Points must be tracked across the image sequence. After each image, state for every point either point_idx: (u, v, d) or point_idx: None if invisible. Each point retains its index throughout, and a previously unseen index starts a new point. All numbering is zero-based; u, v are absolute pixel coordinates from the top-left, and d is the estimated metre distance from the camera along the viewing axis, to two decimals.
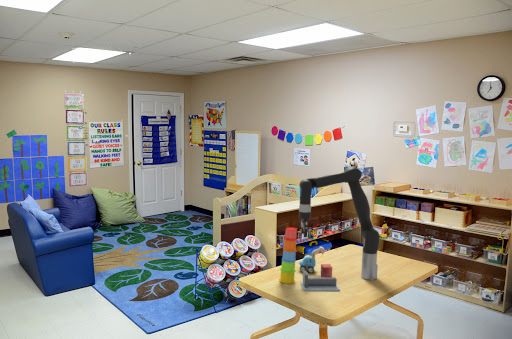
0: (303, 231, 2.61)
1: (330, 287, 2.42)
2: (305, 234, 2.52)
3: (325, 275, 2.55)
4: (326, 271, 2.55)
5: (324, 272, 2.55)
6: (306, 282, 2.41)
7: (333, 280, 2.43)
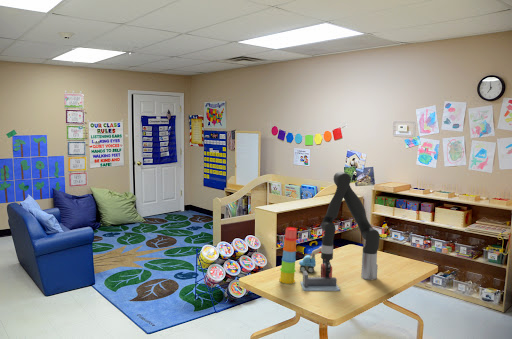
0: None
1: (330, 287, 2.42)
2: (327, 276, 2.54)
3: (325, 275, 2.55)
4: None
5: (324, 272, 2.55)
6: (306, 282, 2.41)
7: (333, 280, 2.43)
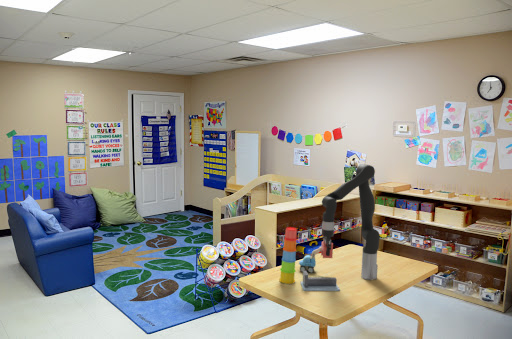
0: None
1: (330, 287, 2.42)
2: (328, 253, 2.49)
3: (325, 252, 2.50)
4: None
5: (324, 249, 2.50)
6: (306, 282, 2.41)
7: (333, 280, 2.43)
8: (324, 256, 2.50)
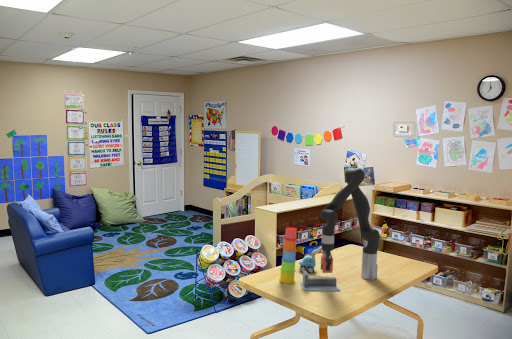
0: None
1: (330, 287, 2.42)
2: (328, 267, 2.40)
3: (325, 267, 2.41)
4: None
5: (324, 263, 2.41)
6: (306, 282, 2.41)
7: (333, 280, 2.43)
8: (324, 271, 2.41)
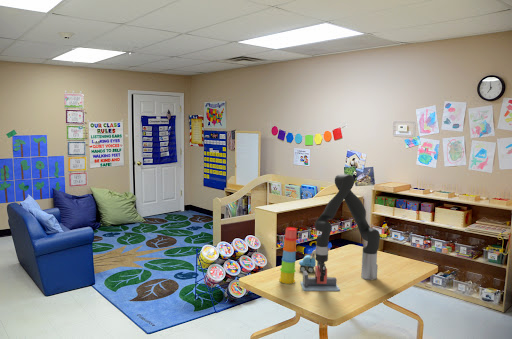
0: None
1: (330, 287, 2.42)
2: (322, 278, 2.40)
3: (319, 278, 2.41)
4: None
5: (318, 274, 2.41)
6: (306, 282, 2.41)
7: (333, 280, 2.43)
8: (318, 282, 2.41)
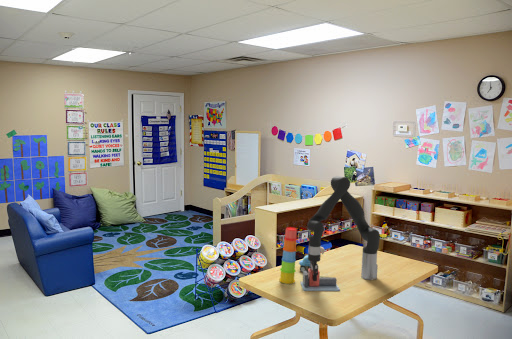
0: None
1: (330, 287, 2.42)
2: (314, 278, 2.39)
3: (312, 280, 2.41)
4: None
5: (311, 277, 2.41)
6: (306, 282, 2.41)
7: (333, 280, 2.43)
8: (310, 284, 2.42)
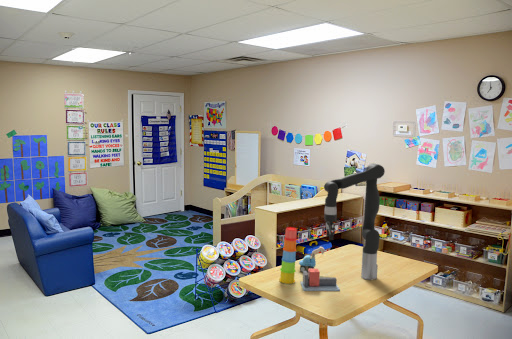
0: (328, 234, 2.58)
1: (330, 287, 2.42)
2: (331, 237, 2.49)
3: (312, 280, 2.41)
4: (313, 276, 2.41)
5: (311, 277, 2.41)
6: (306, 282, 2.41)
7: (333, 280, 2.43)
8: (310, 284, 2.42)
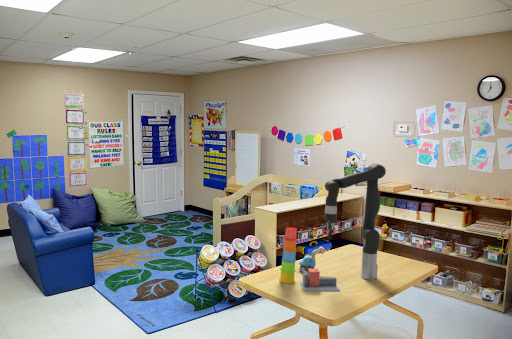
0: None
1: (330, 287, 2.42)
2: (330, 236, 2.53)
3: (312, 280, 2.41)
4: (313, 276, 2.41)
5: (311, 277, 2.41)
6: (306, 282, 2.41)
7: (333, 280, 2.43)
8: (310, 284, 2.42)
